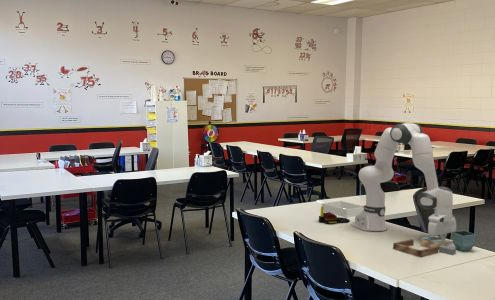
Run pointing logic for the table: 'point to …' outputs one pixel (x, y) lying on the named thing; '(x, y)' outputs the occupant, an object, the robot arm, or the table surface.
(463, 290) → the table surface
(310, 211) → the table surface
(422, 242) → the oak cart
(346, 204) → the toy storage tray
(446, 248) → the block
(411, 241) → the bay
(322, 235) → the table surface
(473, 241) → the flower pot
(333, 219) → the fire station toy set
